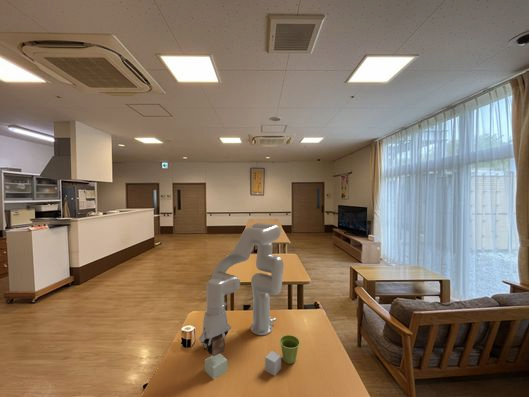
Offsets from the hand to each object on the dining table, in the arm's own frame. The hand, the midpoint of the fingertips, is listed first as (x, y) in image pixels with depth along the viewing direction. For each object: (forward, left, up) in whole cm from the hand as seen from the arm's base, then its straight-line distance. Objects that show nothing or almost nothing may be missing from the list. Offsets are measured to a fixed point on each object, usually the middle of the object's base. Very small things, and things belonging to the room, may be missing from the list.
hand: (215, 349), depth 101 cm
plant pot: (-30, +15, -10) cm, 35 cm away
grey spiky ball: (-4, -16, -10) cm, 19 cm away
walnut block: (0, 0, -1) cm, 1 cm away
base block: (0, 0, -10) cm, 10 cm away
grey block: (-20, +15, -10) cm, 27 cm away
